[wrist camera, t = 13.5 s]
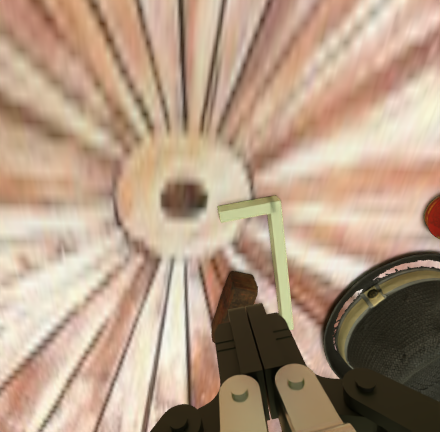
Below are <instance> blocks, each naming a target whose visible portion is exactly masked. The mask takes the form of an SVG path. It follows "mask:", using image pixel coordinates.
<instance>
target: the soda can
mask: <svg viewBox="0 0 440 432" xmlns="http://www.w3.org/2000/svg"><path fill="white" fill-rule="evenodd" d="M424 220H425V223H426V225H427V226H428V228H429V231H430V232H431V233H432V234H433V235H434V236H435V237H437V238H438V239H440V196H439V197H437V198H435V199H434V200H432V201H431V202H430V203H429V205H428V206H427V208H426V210H425V214H424Z"/></svg>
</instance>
